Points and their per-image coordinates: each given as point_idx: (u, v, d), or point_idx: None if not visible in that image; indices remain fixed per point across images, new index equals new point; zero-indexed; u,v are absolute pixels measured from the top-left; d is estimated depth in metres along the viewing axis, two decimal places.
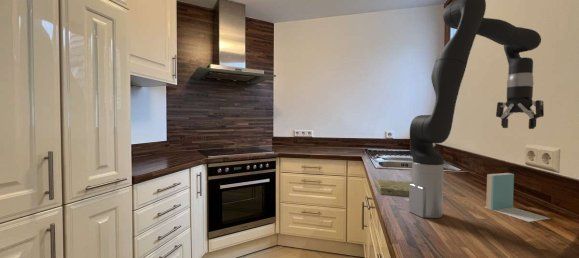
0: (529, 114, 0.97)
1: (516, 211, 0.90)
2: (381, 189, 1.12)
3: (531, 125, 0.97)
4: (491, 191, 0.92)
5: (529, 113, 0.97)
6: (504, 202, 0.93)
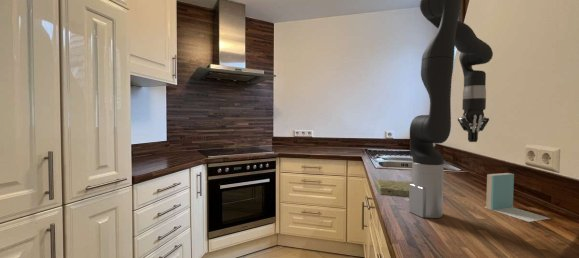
0: (478, 128, 1.03)
1: (516, 211, 0.90)
2: (381, 189, 1.12)
3: (476, 138, 1.04)
4: (491, 191, 0.92)
5: (478, 127, 1.03)
6: (504, 202, 0.93)
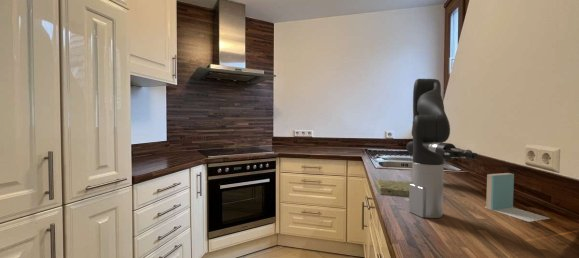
0: (465, 151, 1.09)
1: (516, 211, 0.90)
2: (381, 189, 1.12)
3: None
4: (491, 191, 0.92)
5: (465, 151, 1.09)
6: (504, 202, 0.93)
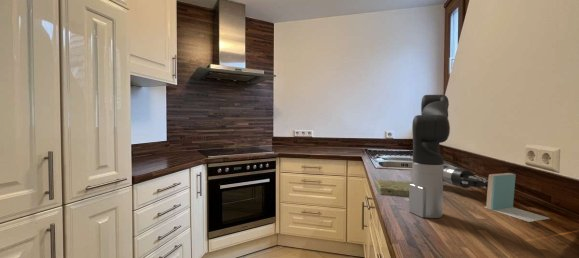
0: (485, 180, 1.00)
1: (516, 211, 0.90)
2: (381, 189, 1.12)
3: None
4: (492, 191, 0.91)
5: (485, 179, 1.00)
6: (504, 202, 0.93)
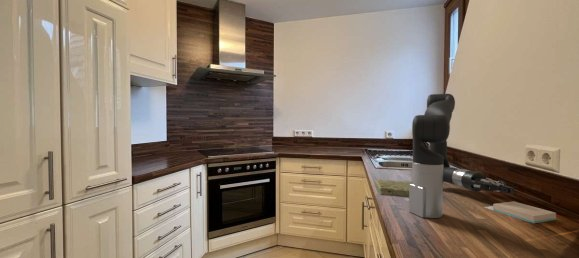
0: (498, 183, 0.95)
1: None
2: (381, 189, 1.12)
3: None
4: (513, 215, 0.85)
5: (498, 183, 0.95)
6: None
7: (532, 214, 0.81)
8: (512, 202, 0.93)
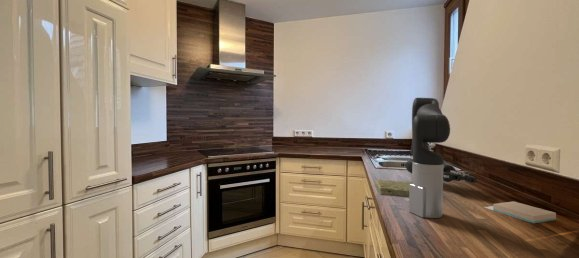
0: (465, 174, 1.09)
1: None
2: (381, 189, 1.12)
3: None
4: (513, 215, 0.85)
5: (465, 174, 1.09)
6: None
7: (532, 214, 0.81)
8: (512, 202, 0.93)
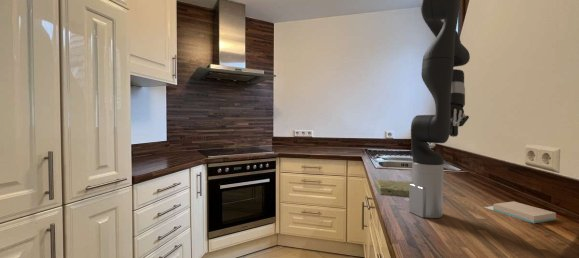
0: (458, 122, 1.05)
1: None
2: (381, 189, 1.12)
3: (456, 133, 1.04)
4: (513, 215, 0.85)
5: (458, 122, 1.05)
6: None
7: (532, 214, 0.81)
8: (512, 202, 0.93)
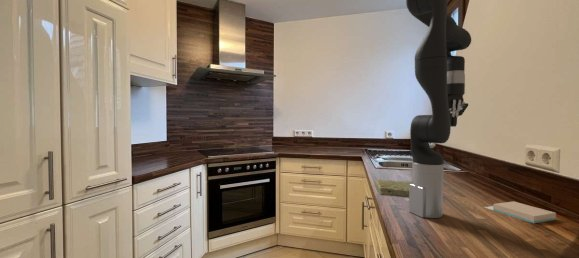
0: (457, 112, 1.05)
1: None
2: (381, 189, 1.12)
3: (455, 123, 1.06)
4: (513, 215, 0.85)
5: (457, 112, 1.05)
6: None
7: (532, 214, 0.81)
8: (512, 202, 0.93)
